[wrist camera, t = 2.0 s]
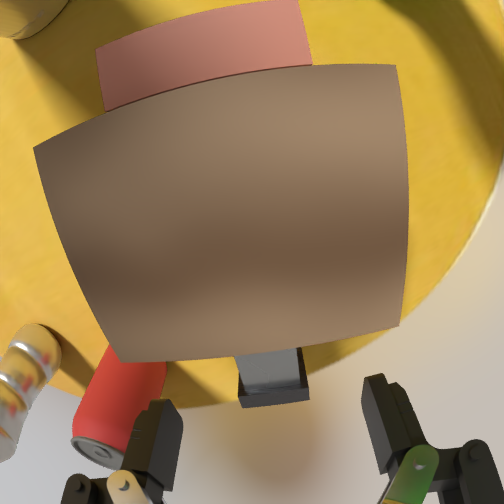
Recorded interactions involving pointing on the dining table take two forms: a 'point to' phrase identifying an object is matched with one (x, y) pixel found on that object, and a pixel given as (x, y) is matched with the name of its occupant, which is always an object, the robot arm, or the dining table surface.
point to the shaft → (272, 378)
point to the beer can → (114, 407)
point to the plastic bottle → (24, 380)
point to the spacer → (202, 50)
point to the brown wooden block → (238, 212)
